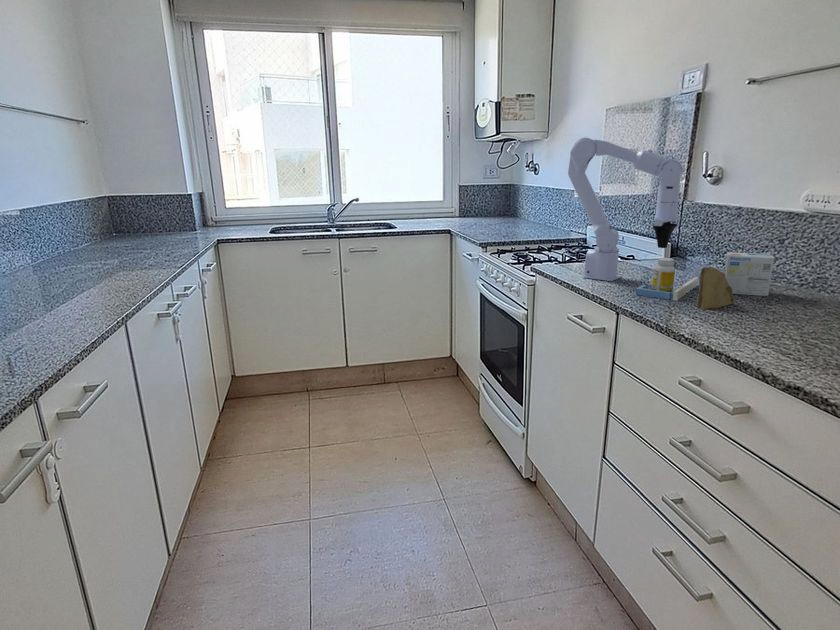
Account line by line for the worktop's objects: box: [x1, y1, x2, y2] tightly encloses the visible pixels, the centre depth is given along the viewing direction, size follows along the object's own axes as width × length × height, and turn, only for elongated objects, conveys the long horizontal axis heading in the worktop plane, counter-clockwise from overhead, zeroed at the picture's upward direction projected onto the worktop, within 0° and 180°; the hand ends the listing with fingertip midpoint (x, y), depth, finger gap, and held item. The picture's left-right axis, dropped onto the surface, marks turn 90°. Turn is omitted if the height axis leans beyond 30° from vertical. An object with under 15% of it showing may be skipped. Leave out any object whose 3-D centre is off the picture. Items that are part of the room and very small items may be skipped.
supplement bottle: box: [650, 257, 676, 293], centre depth 142 cm, size 5×5×10 cm
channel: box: [635, 276, 699, 302], centre depth 145 cm, size 11×21×2 cm, turn 139°
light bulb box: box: [723, 251, 775, 297], centre depth 140 cm, size 11×7×11 cm, turn 65°
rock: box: [696, 267, 736, 310], centre depth 128 cm, size 11×9×10 cm
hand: (662, 247), depth 154 cm, fingers closed
